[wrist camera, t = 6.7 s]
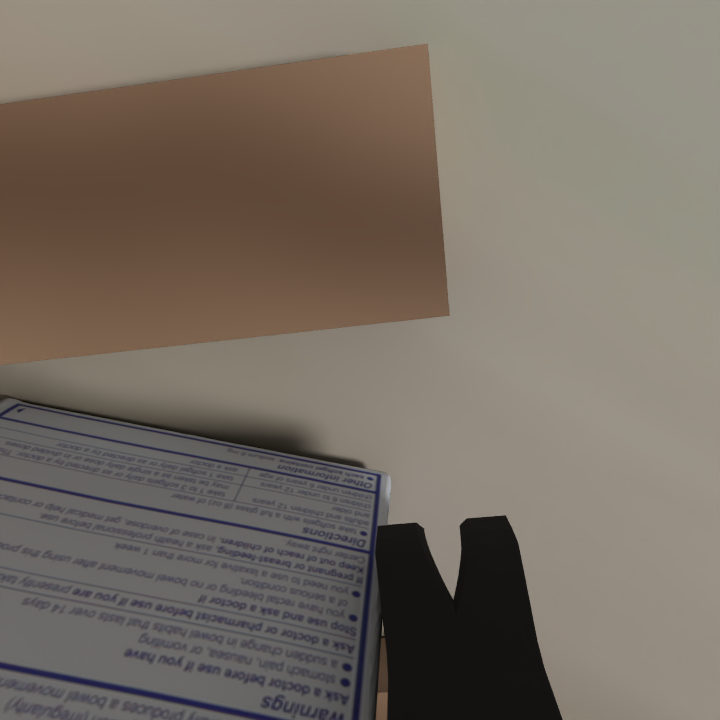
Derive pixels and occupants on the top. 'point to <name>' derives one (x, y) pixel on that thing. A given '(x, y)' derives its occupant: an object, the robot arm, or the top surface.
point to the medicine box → (182, 576)
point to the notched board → (222, 210)
